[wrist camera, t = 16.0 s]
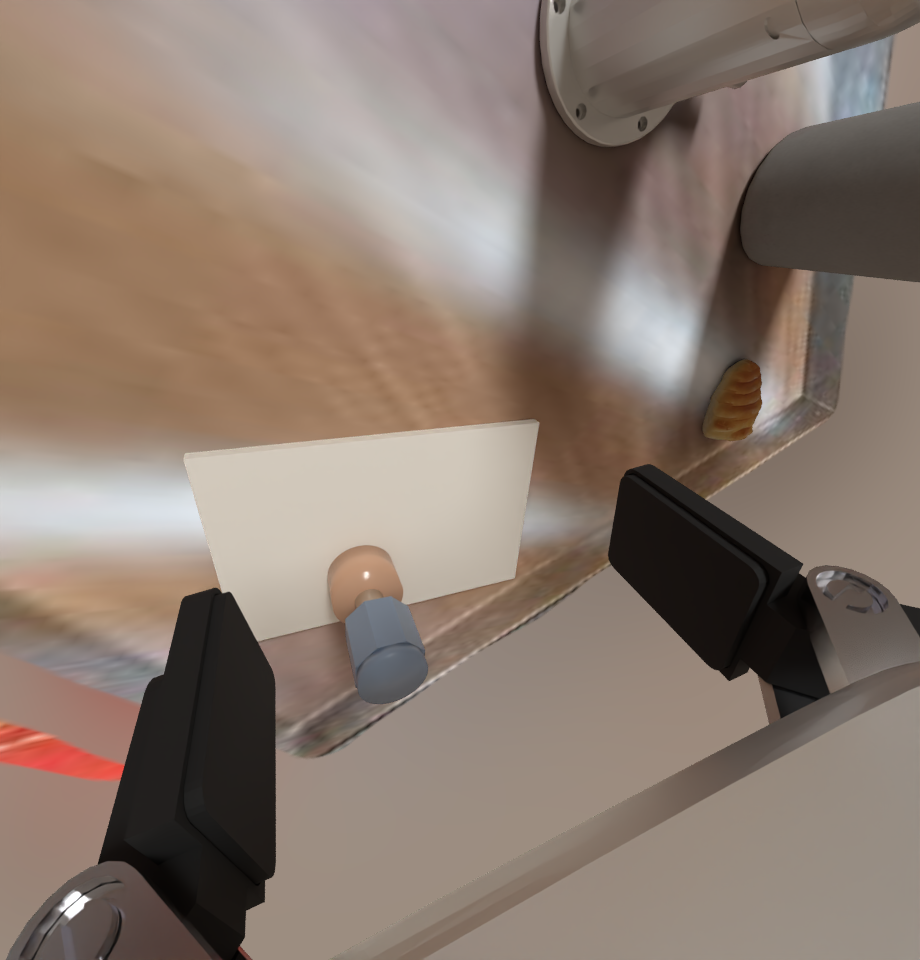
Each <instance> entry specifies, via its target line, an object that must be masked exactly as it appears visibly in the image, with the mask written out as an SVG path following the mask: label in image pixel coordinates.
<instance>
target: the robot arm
mask: <svg viewBox="0 0 920 960" xmlns="http://www.w3.org/2000/svg"><path fill="white" fill-rule="evenodd" d="M919 22H920V0H542V4H541V12H540V48H541V57H542V66H543V70H544V75H545V79H546V83H547V87H548V90H549V92H550V95H551V98H552V100H553V103H554V105H555V107H556V109H557V111H558V112H559V114H560V116H561V117H562V119H563V121H564V122H565V124H566V125H567V126H568V127H569V128H570V129H571V130H572V131H573V132H574V133H575V135H577V136H578V137H580V138H581V139H583V140H584V141H586V142H587V143H590V144H593V145H596V146H599V147H616V146H620V145H625V144H629V143H631V142H634V141H636V140H639V139H641V138H642V137H643V136H645V135H646V134H648V133H649V132H651V131H652V130H653V129H654V128H655V127H656V126H657V125H658V124H659V123H660V122H661V121H662V120H663V119H664V118H665V117H666V115H667V114H668V112H669V111H670V110H671V108H672V107H673V105H674V104H675V103H676V102H679V101H682V100H685V99H689V98H692V97H695V96H699V95H702V94H705V93H708V92H712V91H715V90H718V89H721V88H725V87H729V88H732V89H737V88H740V87H741V86H743V85H744V84H745V83H746V82H747V81H748V80H751V79H754V78H757V77H760V76H764V75H767V74H770V73H773V72H777V71H780V70H783V69H786V68H790V67H793V66H796V65H800V64H803V63H806V62H809V61H813V60H816V59H819V58H822V57H826V56H829V55H832V54H835V53H839V52H842V51H845V50H848V49H852V48H856V47H859V46H862V45H865V44H868V43H871V42H875V41H878V40H881V39H884V38H886V37H889V36H891V35H894V34H897V33H899V32H901V31H903V30H905V29H907V28H909V27H911V26H913V25H915V24H917V23H919ZM608 557H609V561H610V563H611V565H612V566H613V567H614V569H615V570H616V571H617V572H618V573H619V574H620V575H621V576H622V577H623V578H624V579H625V580H626V581H627V582H628V583H629V584H630V585H631V586H632V587H633V588H634V589H635V590H636V591H637V592H638V593H639V594H640V595H641V596H642V598H643V599H644V600H645V601H646V602H647V603H648V604H649V605H650V606H651V607H652V608H653V609H654V610H655V611H656V612H657V613H658V614H659V615H660V616H661V617H662V618H663V619H664V620H665V621H666V622H667V623H668V624H669V625H670V627H671V628H673V630H674V631H675V632H676V633H677V634H678V635H679V636H680V637H681V638H682V639H683V640H684V641H685V642H686V643H687V644H688V645H689V646H690V647H691V648H692V649H693V650H694V651H695V652H696V653H697V654H698V655H699V657H701V659H702V660H703V661H704V662H705V663H706V664H707V665H708V666H710V667H711V668H713V669H715V670H719V671H720V672H721V673H722V674H723V675H724V676H725V677H726V678H727V680H729V681H730V680H732V679H734V678H737V677H739V676H741V675H743V674H745V673H747V672H748V670H749V668H751V669H752V670H753V671H754V672H755V673H757V674H758V678H759V682H760V686H761V691H762V694H763V700H764V704H765V708H766V713H767V717H768V721H769V725H768V726H766V727H764V728H762V729H760V730H758V731H756V732H755V733H753V734H751V735H749V736H747V737H745V738H743V739H741V740H739V741H738V742H735V743H734V744H731V745H730V746H728V747H726V748H724V749H722V750H720V751H718V752H716V753H714V754H712V755H710V756H708V757H706V758H704V759H703V760H701V761H699V762H697V763H695V764H693V765H691V766H689V767H687V768H685V769H684V770H682V771H680V772H678V773H676V774H674V775H672V776H670V777H668V778H666V779H664V780H663V781H661V782H659V783H657V784H655V785H653V786H652V787H649V788H647V789H645V790H644V791H642V792H640V793H638V794H636V795H634V796H632V797H630V798H628V799H627V800H625V801H623V802H621V803H619V804H617V805H615V806H613V807H611V808H609V809H607V810H605V811H604V812H602V813H600V814H598V815H596V816H594V817H592V818H590V819H588V820H587V821H585V822H583V823H581V824H579V825H577V826H575V827H573V828H571V829H569V830H567V831H566V832H564V833H562V834H560V835H558V836H556V837H554V838H552V839H551V840H549V841H547V842H545V843H543V844H541V845H539V846H537V847H536V848H534V849H532V850H530V851H528V852H526V853H524V854H523V855H520V856H519V857H517V858H515V859H513V860H511V861H509V862H507V863H506V864H504V865H502V866H500V867H498V868H496V869H494V870H492V871H491V872H489V873H487V874H485V875H483V876H481V877H479V878H477V879H475V880H473V881H472V882H470V883H468V884H466V885H464V886H462V887H460V888H459V889H457V890H455V891H453V892H451V893H449V894H447V895H446V896H443V897H442V898H440V899H438V900H436V901H434V902H432V903H430V904H428V905H427V906H425V907H423V908H421V909H419V910H418V911H416V912H414V913H413V914H410V915H409V916H407V917H405V918H403V919H402V920H400V921H398V922H396V923H394V924H393V925H391V926H389V927H387V928H385V929H384V930H382V931H380V932H379V933H376V934H375V935H373V936H371V937H369V938H367V939H366V940H364V941H362V942H360V943H358V944H357V945H355V946H353V947H351V948H349V949H348V950H346V951H344V952H342V953H340V954H338V955H337V956H335V957H333V958H332V959H329V960H920V608H915V607H910V606H906V605H902V604H899V603H898V601H897V599H896V598H895V597H894V596H893V595H892V593H891V592H890V591H889V590H888V589H887V588H885V587H884V586H883V585H882V584H880V583H879V582H877V581H876V580H874V579H872V578H870V577H868V576H866V575H864V574H862V573H859V572H857V571H854V570H851V569H847V568H843V567H839V566H828V565H825V566H819V567H815V568H813V569H812V570H810V571H809V573H808V575H807V577H806V578H805V577H804V576H802V575H801V574H799V571H800V569H801V567H802V566H803V563H801V562H800V561H798V560H797V559H795V558H793V557H792V556H791V555H789V554H787V553H786V552H784V551H783V550H781V549H780V548H778V547H777V546H775V545H774V544H772V543H771V542H769V541H768V540H766V539H765V538H763V537H762V536H760V535H758V534H757V533H756V532H754V531H752V530H751V529H749V528H748V527H746V526H745V525H743V524H742V523H740V522H739V521H737V520H736V519H734V518H732V517H731V516H730V515H728V514H726V513H725V512H723V511H722V510H720V509H719V508H717V507H716V506H714V505H713V504H711V503H710V502H708V501H707V500H705V499H704V498H702V497H701V496H699V495H698V494H696V493H695V492H693V491H692V490H690V489H688V488H687V487H685V486H684V485H682V484H681V483H679V482H678V481H676V480H675V479H673V478H672V477H670V476H669V475H667V474H666V473H664V472H663V471H661V470H660V469H658V468H656V467H655V466H653V465H651V464H647V465H643V466H640V467H636V468H633V469H629V470H627V471H626V473H625V475H624V477H623V478H622V479H621V481H620V486H619V492H618V498H617V504H616V510H615V516H614V522H613V528H612V534H611V540H610V546H609V552H608ZM275 761H276V760H275V679H274V674H273V671H272V669H271V667H270V665H269V663H268V661H267V659H266V657H265V655H264V653H263V651H262V650H261V648H260V646H259V644H258V642H257V640H256V638H255V636H254V634H253V632H252V631H251V629H250V627H249V625H248V623H247V621H246V619H245V617H244V615H243V613H242V612H241V610H240V608H239V606H238V604H237V602H236V600H235V598H234V596H233V595H232V593H231V592H225V593H221V591H220V590H219V589H218V588H213V589H209V590H206V591H202V592H199V593H195V594H192V595H188V596H185V597H184V598H183V600H182V602H181V606H180V610H179V614H178V618H177V622H176V626H175V631H174V635H173V639H172V643H171V647H170V651H169V655H168V660H167V664H166V668H165V672H164V675H161V676H158V677H155V678H153V679H152V680H151V681H150V682H149V684H148V685H147V688H146V690H145V693H144V697H143V700H142V704H141V708H140V711H139V715H138V719H137V722H136V726H135V730H134V734H133V737H132V741H131V744H130V748H129V752H128V755H127V759H126V762H125V766H124V770H123V773H122V777H121V781H120V785H119V788H118V792H117V796H116V799H115V803H114V807H113V810H112V814H111V817H110V821H109V825H108V829H107V832H106V836H105V840H104V843H103V847H102V850H101V854H100V858H99V862H98V865H95V866H92V867H89V868H88V869H86V870H84V871H83V872H81V873H79V874H78V875H76V876H75V877H73V878H71V879H70V880H68V881H67V882H66V883H65V884H64V885H63V886H61V887H60V888H59V889H58V890H57V891H56V892H55V893H54V894H52V896H50V897H49V898H48V899H47V900H46V901H45V902H44V903H43V905H42V906H41V907H40V908H39V909H38V911H37V912H36V913H35V914H34V915H33V916H32V918H31V919H30V920H29V921H28V922H27V924H26V925H25V927H24V929H23V930H22V932H21V933H20V935H19V937H18V938H17V940H16V941H15V943H14V944H13V946H12V948H11V949H10V951H9V953H8V956H7V958H6V960H252V959H251V958H250V956H249V955H248V954H247V953H246V952H245V951H244V950H243V949H242V948H241V947H240V944H241V943H242V941H243V939H244V938H245V920H246V919H245V918H246V910H248V909H250V908H252V907H255V906H257V905H259V904H261V903H263V902H265V880H267V879H269V878H271V877H272V876H273V875H274V872H275V863H276V825H275V824H276V811H275V810H276V805H275V804H276V794H275V793H276V788H275V786H276V785H275V784H276V778H275V777H276V776H275V775H276V774H275V771H276V769H275V768H276V767H275V766H276V763H275Z"/></svg>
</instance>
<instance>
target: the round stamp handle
mask: <svg viewBox="0 0 920 960" xmlns="http://www.w3.org/2000/svg"><path fill="white" fill-rule="evenodd" d="M327 580H328V585H329V590H330V596H331V601H332V607H333V612H334V614H335V616H336V617H337V618H338V619H339V620H340V621H341V622H343V623H345V619H346V618H347V617H348V616H349V615H350V614H351V613H352V612H353V611H354V610H356V609H357V608H358V607H359V606H360V605H361V604H362V603H363V602H364V601H369V600H374V599H379V598H384V597H389V596H392V597H393V598H395V599H397V600H398V601H400V602H401V601H402V598H403V587H402V584H401V582H400V579H399V577H398V574H397V571H396V569H395V566H394V564H393V561H392V559H391V557H390V555H389V554H388V553H387V552H386V551H385V550H383V549H382V548H379V547H376V546H371V545H363V546H357V547H353V548H350V549H348V550H346V551H344V552H343V553H341V554H340V555H339V556H338V557H336V558H335V560H334V561H333V562H332V563H331V565H330V567H329V569H328V574H327Z"/></svg>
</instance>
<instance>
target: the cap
mask: <svg viewBox="0 0 920 960" xmlns="http://www.w3.org/2000/svg"><path fill="white" fill-rule="evenodd" d="M345 630H346V642H347V647H348V652H349V657H350V662H351V667H352V671H353V676H354V681H355V686H356V688H358V693H359V695H360V697H361V698H362V699H363V700H364V701H366V702H369V703H372V704H386V703H391V702H394V701H397V700H400V699H402V698H404V697H406V696H408V695H409V694H411V693H412V692H414V691H415V690H416V689H417V688H418V687H419V686H420V685H421V684H422V683H423V681H424V680H425V678H426V676H427V673H428V665H427V662H426V659H425V657H424V656H425V649H424V646H423V644H422V641H421V639H420V636H419V633H418V631H417V628H416V626H415V623H414V620H413V618H412V615H411V612H410V610H409V607H408V606H407V605H405V604H404V603H402V602H400V601H398V600H397V599H395V598H393V597H392V596H389V597H384V598H379V599H374V600H369V601H364V602H363V603H362V604H361V605H360V606H359V607H358V608H357V609H356V610H354V611H353V612H352V613H351V614H350V615H349V616H348V617H347V618H346V619H345Z"/></svg>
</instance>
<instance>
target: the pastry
mask: <svg viewBox="0 0 920 960" xmlns="http://www.w3.org/2000/svg"><path fill="white" fill-rule="evenodd" d="M761 385H762V381H761V373H760V367H759V366H758V365H757V364H756V363H754V362H752V361H750V360H748V359H744V360H741V361H739V362H737V363H736V364H734V365H733V366H731V367H730V368H729V369H728V370H727V371H726V372H725V373H724V375H723V377H722V380H721V382H720V383H719V385H718V386H717V388H716V390H715V391H714V393H713V394H712V396H711V399H710V400H711V401H710V404H709V406H708V409H707V412H706V415H705V418H704V422H703V428H702V431H703V434H704V436H705V437H707V438H711V439H716V440H728V441H737V440H742V439H745V438H746V437H747V436H748V435H750V434H751V433H752V432H753V431H752V425H753V424H754V421H755V419H756V417H757V415H758V412H759V410H760V409H761V405H762V400H761V390H760V388H761Z"/></svg>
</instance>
